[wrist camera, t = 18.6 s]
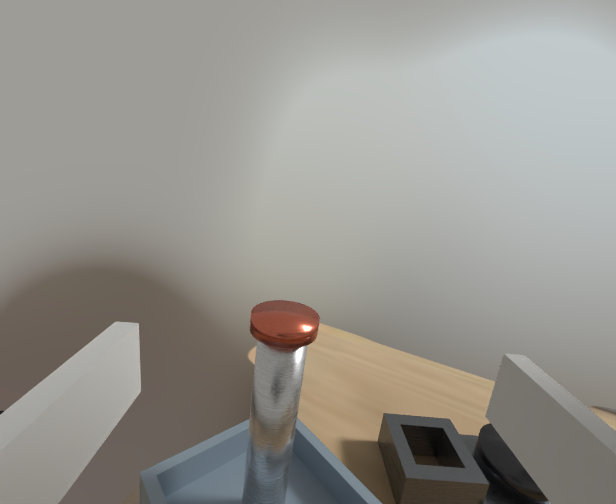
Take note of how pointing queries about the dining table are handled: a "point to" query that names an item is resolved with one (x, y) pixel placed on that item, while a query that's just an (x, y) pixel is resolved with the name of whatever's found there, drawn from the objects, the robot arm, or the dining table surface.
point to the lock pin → (275, 396)
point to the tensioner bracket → (452, 464)
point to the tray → (231, 467)
